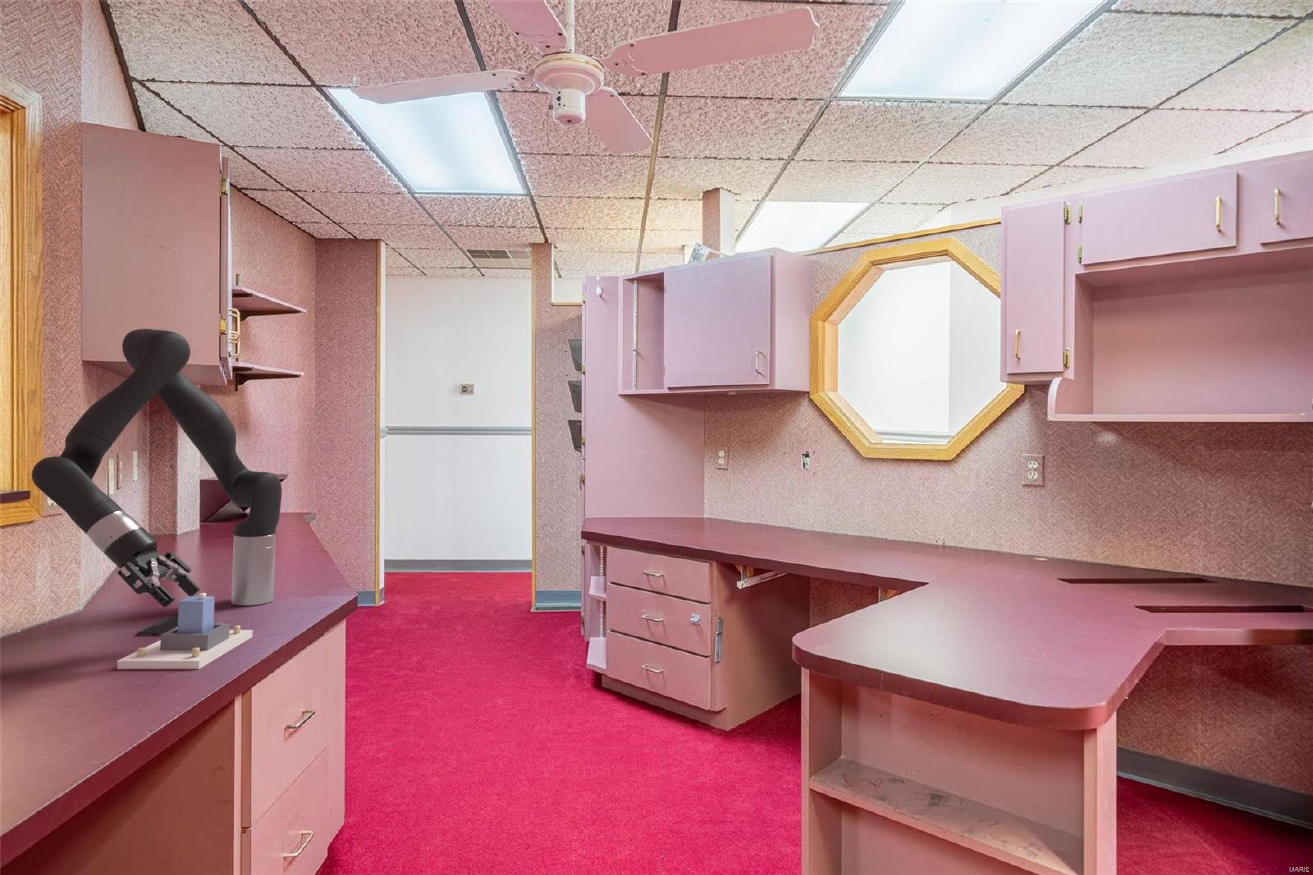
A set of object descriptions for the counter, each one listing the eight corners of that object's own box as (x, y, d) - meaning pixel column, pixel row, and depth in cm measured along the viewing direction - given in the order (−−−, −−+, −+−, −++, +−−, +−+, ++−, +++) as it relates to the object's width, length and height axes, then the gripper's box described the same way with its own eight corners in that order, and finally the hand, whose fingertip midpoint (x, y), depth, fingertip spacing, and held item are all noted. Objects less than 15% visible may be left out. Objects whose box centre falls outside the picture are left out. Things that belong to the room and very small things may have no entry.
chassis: (182, 636, 143) (183, 615, 143) (252, 636, 145) (253, 615, 145) (117, 668, 123) (118, 644, 123) (198, 669, 125) (199, 644, 125)
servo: (189, 641, 136) (191, 591, 136) (212, 641, 136) (214, 591, 136) (177, 647, 132) (178, 595, 132) (201, 647, 132) (203, 596, 132)
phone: (212, 613, 158) (175, 632, 144) (211, 618, 158) (174, 637, 144) (175, 613, 157) (134, 632, 143) (175, 618, 157) (134, 637, 143)
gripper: (112, 531, 126) (176, 593, 127) (160, 521, 140) (217, 577, 141) (80, 559, 125) (145, 621, 127) (132, 546, 139) (189, 602, 141)
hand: (183, 598), depth 134 cm, fingers open, 8 cm apart
